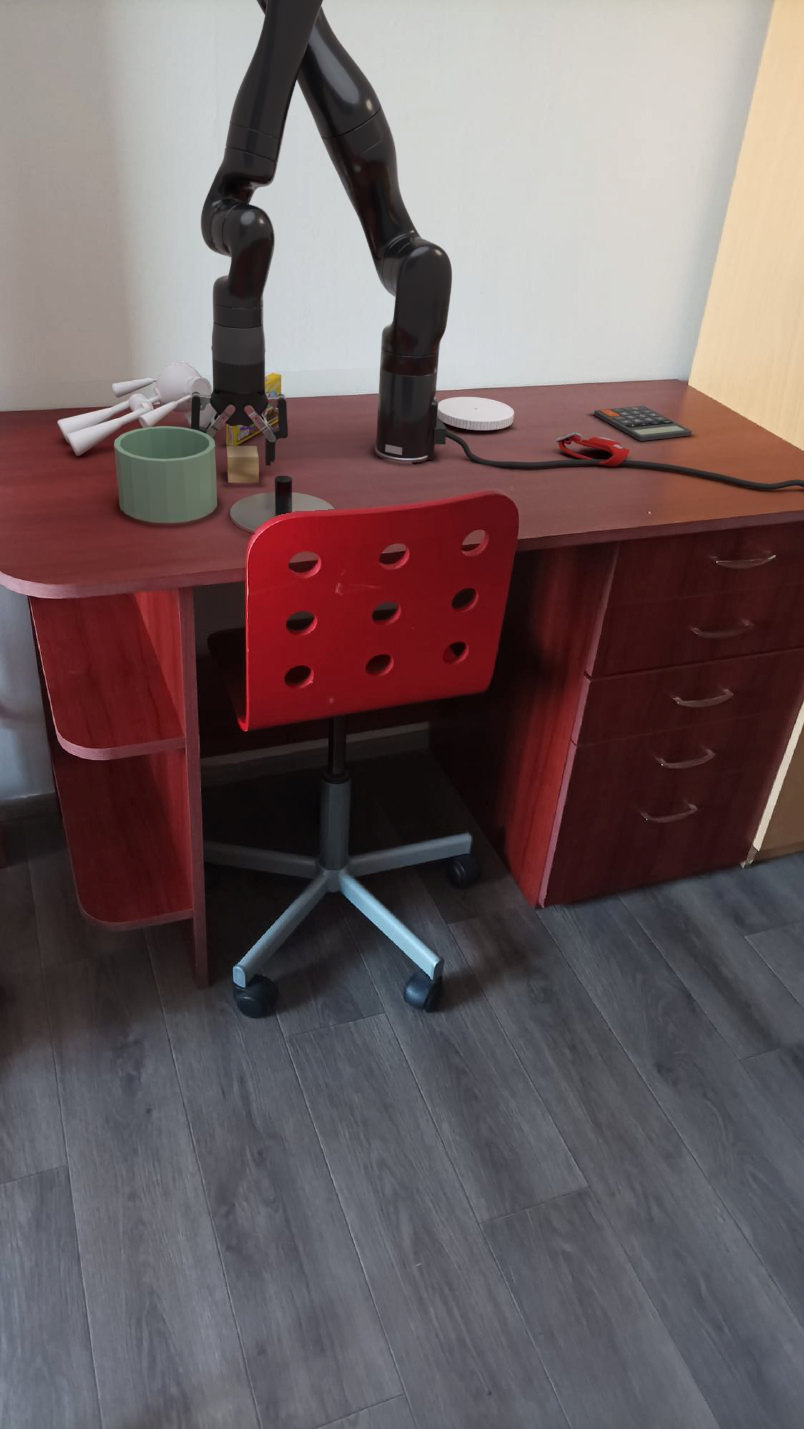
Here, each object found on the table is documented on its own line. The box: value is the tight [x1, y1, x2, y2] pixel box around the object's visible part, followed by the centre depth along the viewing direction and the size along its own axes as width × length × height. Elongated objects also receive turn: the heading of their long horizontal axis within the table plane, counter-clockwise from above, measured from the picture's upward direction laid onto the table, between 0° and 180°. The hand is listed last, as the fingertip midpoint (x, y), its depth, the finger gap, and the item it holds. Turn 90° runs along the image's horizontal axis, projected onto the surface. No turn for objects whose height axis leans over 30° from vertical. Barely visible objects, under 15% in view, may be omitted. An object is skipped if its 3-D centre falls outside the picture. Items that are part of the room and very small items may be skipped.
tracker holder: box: [555, 432, 630, 468], centre depth 176 cm, size 12×4×10 cm
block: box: [225, 445, 260, 484], centre depth 158 cm, size 5×5×5 cm
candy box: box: [225, 372, 282, 446], centre depth 175 cm, size 16×2×8 cm, turn 158°
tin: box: [113, 425, 218, 524], centre depth 147 cm, size 14×14×10 cm
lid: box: [229, 475, 335, 535], centre depth 147 cm, size 15×15×6 cm
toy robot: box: [57, 360, 216, 457], centre depth 169 cm, size 19×12×25 cm
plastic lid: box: [437, 396, 515, 431], centre depth 188 cm, size 14×14×2 cm
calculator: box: [593, 405, 693, 442], centre depth 194 cm, size 12×1×15 cm
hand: (239, 463), depth 158 cm, fingers open, 8 cm apart
